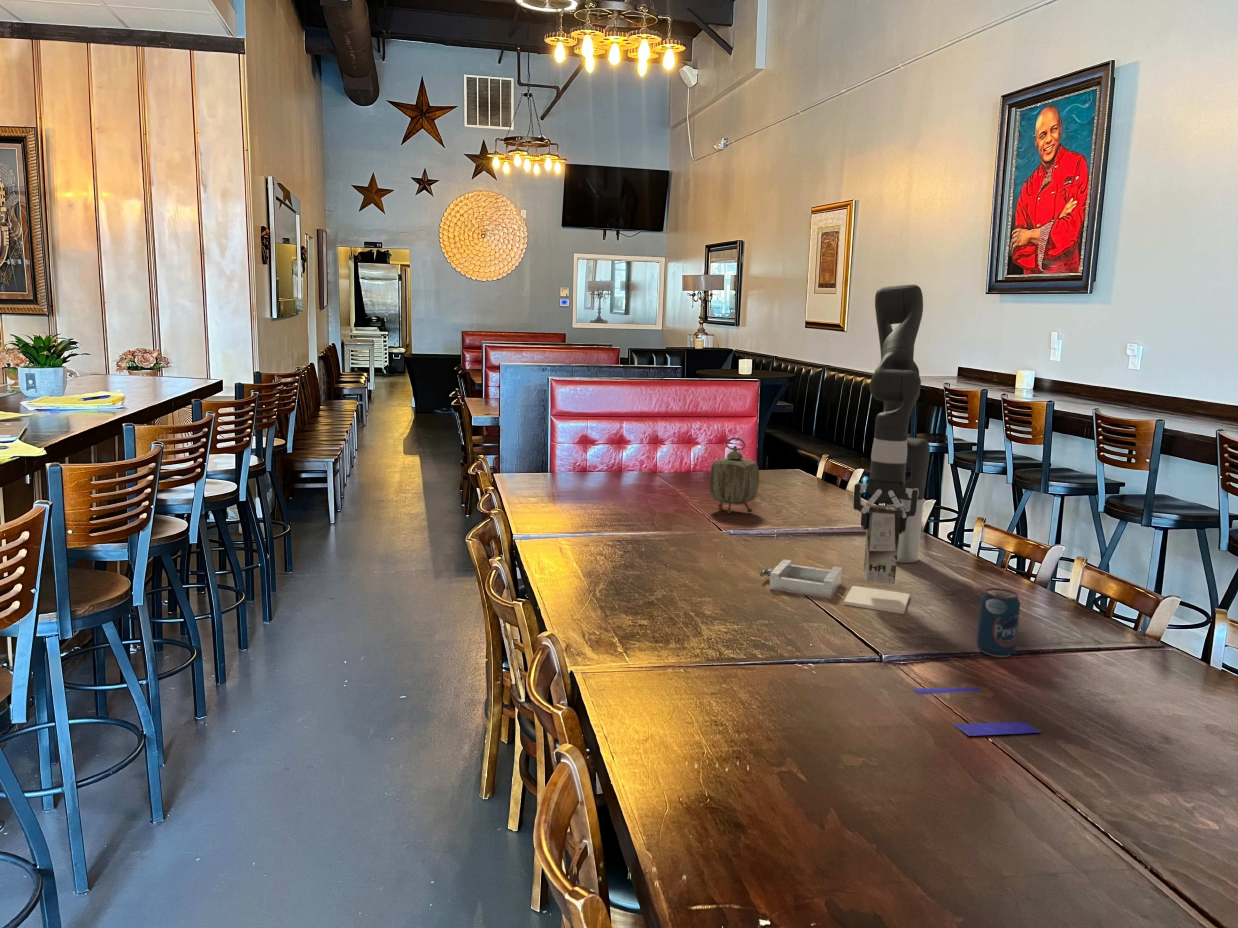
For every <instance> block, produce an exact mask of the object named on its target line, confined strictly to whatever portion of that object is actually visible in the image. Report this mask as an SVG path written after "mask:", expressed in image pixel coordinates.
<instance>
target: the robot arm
mask: <svg viewBox="0 0 1238 928" xmlns="http://www.w3.org/2000/svg"><path fill="white" fill-rule="evenodd" d="M874 309H875V317H876V326H877V332H878V337H879V338H878V340H879V348H880V349H879V350H880V362H879V364H878V366H877V367H876V369H874V372H873V374H872V376H871V379H870V382H869V392H870V394H871V396H872V397H873V398H874V399H875V400H876V401H880V402H883V409H884V411H882V412H879V413H878V414H877V415H876V417H875V426H874V434H873V435H874V437H873V443H872V446H871V447H872V448H871V453H870V458H871V459H870V460H871V461H870V473H869V481H868V483H861V482H856V483H855V484H854V485H853V487H854V488H853V509H854V510H855V511H859V512H860V513H861V517H860V526H861V528H862V530H865V531H867V528H868V517H869V512H868V510H869V508H870V507H871V506H872V505H874V503H876V504H878V505H881V504H882V505H883V504H885V505H886V506H895V507H896V509H897V510H898V512H900V513H901V521H900V532H899V542H898V553H897V563H906V564H910V563H911V564H912V563H917V562H918V560H919V552H920V544H921V543H920V541H921V532H922V531H921V530H922V523H923V521H922V520H923V509H924V501H925V500H924V499H925V492H926V491H925V490H926V485H927V478H928V477H927V475H928V468H929V465H930V464H929V463H930V456H931V455H930V454H931V447H930V444H929V441H928V440H927V439H925V438H917V437H908V435H909V434H908V433H909V425H910V420H911V419H910V418H911V414H912V412H913V407H914V406H915V405H916V403H917V402H918V399H919V398H920V395H921V387H922V380H921V377H920V369H919V367H918V365H917V362H915V361H914V358H915V357H914V354H915V353H914V352H915V343H916V339H917V336H918V333H919V329H920V325H921V323H922V318H923V312H924V296H923V292H922V289H921V287H920V286H919V285H917V284H902V285H891V286H884V287H883V286H882V287H880V288H877V290H876V292H875V296H874ZM896 324H898V325H897V326H896V328H894V329H893V327H892V325H896ZM906 473H910V477H909V478H908V479H907V480H906ZM865 490H867V492H868V493H869V495H870V496H871V497H870V498H869V499H868V501H867V503H865V505H863V504H861V501H862V494H863V493H864V492H865Z"/></svg>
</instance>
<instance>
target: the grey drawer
mask: <svg viewBox="0 0 1238 928" xmlns="http://www.w3.org/2000/svg"><path fill="white" fill-rule="evenodd" d="M842 569H843V568H842V567H841V566H833V567H832V568H831V569H825V568H819V567H812V566H806V565H797V564H792V560H791V559H782V560H781V561H780V562H779V564H777V565H776V566H775V567H774V568H773V569H770V568H769V567H765V568H764V569H763V570H762V571H761V572H759V577H765V576H767V577H769V589H768V590H771V589H774V590H773V591H778V590H780V591H779V592H784V591H786V592H785V593H792V594H797V595H803V596H804V595H805V596H811V597H818V598H824V599H832V598H833V596H834V595H835V593H836V591H837V590H838V588H839V587H840V585H841V583H842Z"/></svg>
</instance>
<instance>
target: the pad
mask: <svg viewBox="0 0 1238 928" xmlns="http://www.w3.org/2000/svg"><path fill="white" fill-rule="evenodd" d="M910 595H911V594H910V593H905V592H897V591H891V590H885V589H884V590H883V589H878V588H871V587H864V586H858V585H857V586H856V585H852V586H851V588H850V589H849V592H848V593H847V595H846V596H845V599H844V600H843V605H844V606H851V607H858V608H862V609H863V608H864V609H869V610H877V611H882V612H890V613H896V614H903V615H904V614H905V611H906V607H907V606H908V604H909V603H908V602H909V600H910Z"/></svg>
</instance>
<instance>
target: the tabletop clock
mask: <svg viewBox="0 0 1238 928" xmlns="http://www.w3.org/2000/svg"><path fill="white" fill-rule="evenodd" d="M731 440H737V441H740V442H741V443H742V444H743V446H742V447H741V448H740V447H739V448H738V446H736V445H734V446H733V447H731V446H729V445H728V442H729V441H731ZM725 446H726V448H727V449H730V450H731V451H730V452H728V453H727V455H726V457H724V458H720V459H716V460H714V461H713V462H712V464H711V468H710V474H709V491H710V497H711V499H712V500H714V501H717V502H720V503H718V504H717V507H718V508H719V509H722V508H723V507H724V505H723V503H725V504H728V508H726V513H727V512H731V513H732V505H744V506H745V507H746V511H747V513H748V512H751V513H752V512H753V509H752V508H750V507H749V504H748V503H749V502H752V501H754V500H755V499H756V497H757V494H758V489H759V482H760V481H759V480H760V478H759V477H760V476H759V475H760V473H759V466H758V463H757V462H756V461H754V460H752V459H748V458H745V457H743V455H742V453H741V452H740V451H742V450H744V449H745V448H746V443H745V441H744V440H743V439H742V438H739V437H729V438H728V439H726V441H725Z"/></svg>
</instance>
